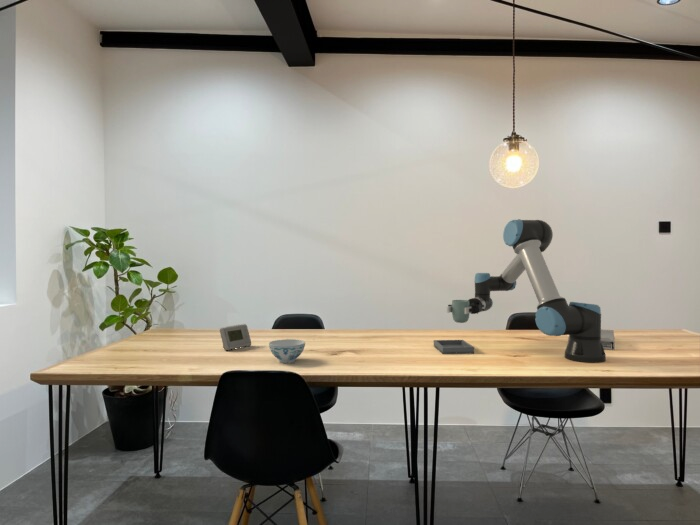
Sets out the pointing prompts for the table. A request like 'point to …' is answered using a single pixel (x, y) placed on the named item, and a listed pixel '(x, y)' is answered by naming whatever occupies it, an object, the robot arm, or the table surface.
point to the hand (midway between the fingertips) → (456, 310)
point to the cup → (460, 310)
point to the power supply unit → (607, 339)
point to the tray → (453, 347)
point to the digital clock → (235, 336)
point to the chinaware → (287, 349)
